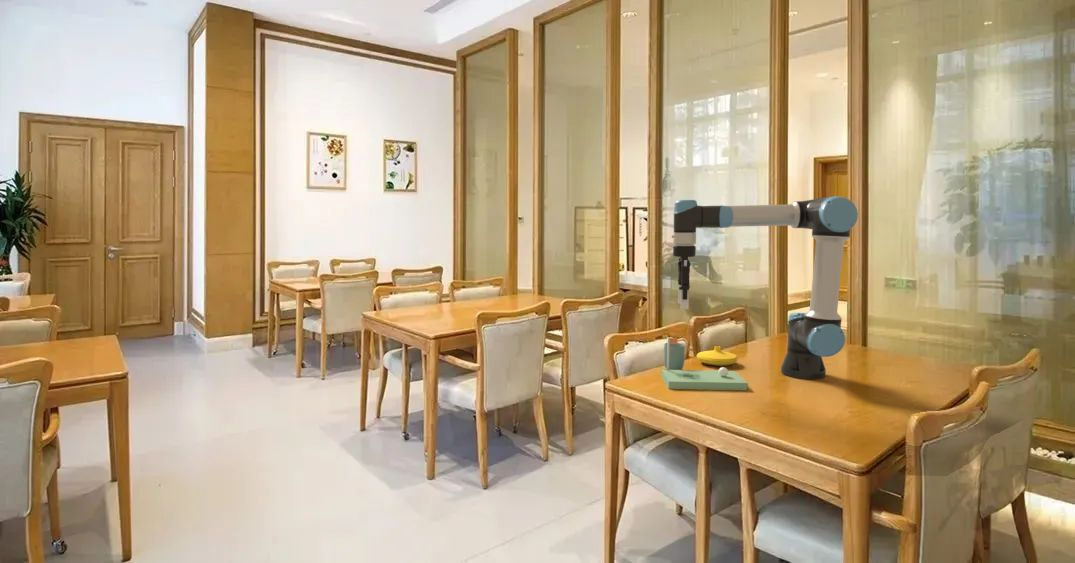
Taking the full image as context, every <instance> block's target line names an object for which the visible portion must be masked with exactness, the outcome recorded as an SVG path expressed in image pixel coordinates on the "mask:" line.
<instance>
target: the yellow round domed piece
mask: <svg viewBox="0 0 1075 563" xmlns="http://www.w3.org/2000/svg"><path fill="white" fill-rule="evenodd" d="M696 358H697V360H698V361H700V362H702V363H703V364H705V365H710V366H715V367H725V366H730V365H734V364H735V363H737V362H738V360H739V358H738V356H737V355H736V354H734V353H731V352H728V351H723V350H721V346H720V345H715V346H714V349H713V350H705V351H700V352H698V353H696Z"/></svg>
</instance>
